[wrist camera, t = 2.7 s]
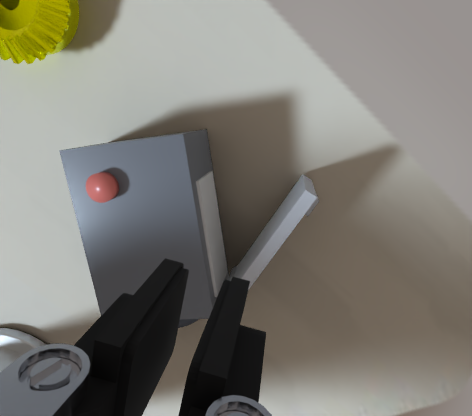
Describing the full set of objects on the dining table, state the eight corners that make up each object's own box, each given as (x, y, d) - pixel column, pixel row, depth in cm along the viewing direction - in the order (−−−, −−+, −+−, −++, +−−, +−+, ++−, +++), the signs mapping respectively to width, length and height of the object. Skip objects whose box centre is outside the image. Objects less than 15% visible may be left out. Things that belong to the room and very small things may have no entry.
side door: (244, 285, 29) (234, 323, 23) (228, 274, 28) (214, 310, 23) (318, 184, 26) (325, 203, 20) (300, 172, 26) (302, 187, 20)
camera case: (233, 290, 29) (217, 340, 23) (141, 295, 31) (101, 343, 24) (209, 128, 26) (182, 134, 20) (107, 142, 27) (52, 151, 21)
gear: (98, 65, 26) (83, -60, 24) (68, 58, 23) (47, -90, 20) (3, 70, 27) (-20, -48, 25) (-40, 64, 24) (-70, -74, 22)
